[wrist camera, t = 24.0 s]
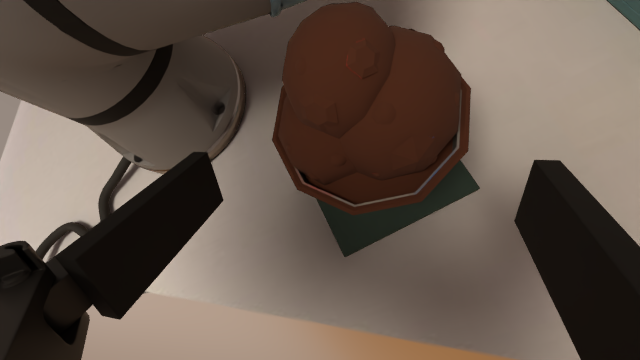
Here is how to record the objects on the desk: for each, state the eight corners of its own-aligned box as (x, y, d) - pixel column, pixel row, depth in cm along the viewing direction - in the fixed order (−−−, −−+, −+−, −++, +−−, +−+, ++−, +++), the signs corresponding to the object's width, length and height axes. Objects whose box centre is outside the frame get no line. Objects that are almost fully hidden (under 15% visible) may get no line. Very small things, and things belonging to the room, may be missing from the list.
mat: (345, 256, 24) (344, 257, 24) (289, 141, 28) (287, 139, 28) (478, 189, 23) (480, 188, 23) (401, 78, 27) (401, 74, 26)
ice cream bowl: (306, 220, 25) (198, 183, 11) (324, 103, 28) (252, -53, 13) (436, 236, 23) (510, 215, 8) (444, 105, 25) (513, -88, 11)
